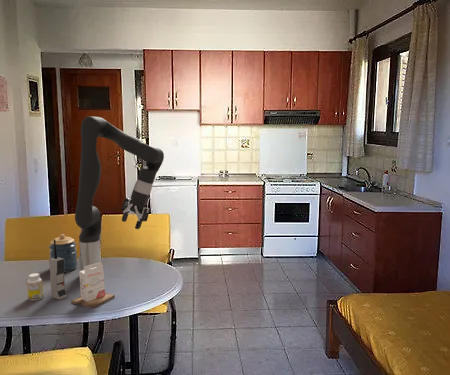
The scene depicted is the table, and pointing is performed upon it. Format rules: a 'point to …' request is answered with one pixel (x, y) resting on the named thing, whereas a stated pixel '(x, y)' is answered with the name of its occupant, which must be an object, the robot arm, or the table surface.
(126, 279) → the table surface
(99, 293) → the ink cartridge box
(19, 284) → the table surface
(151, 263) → the table surface
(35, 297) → the supplement bottle
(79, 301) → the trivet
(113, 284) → the table surface
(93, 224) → the robot arm
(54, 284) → the vintage mobile phone
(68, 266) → the canister
